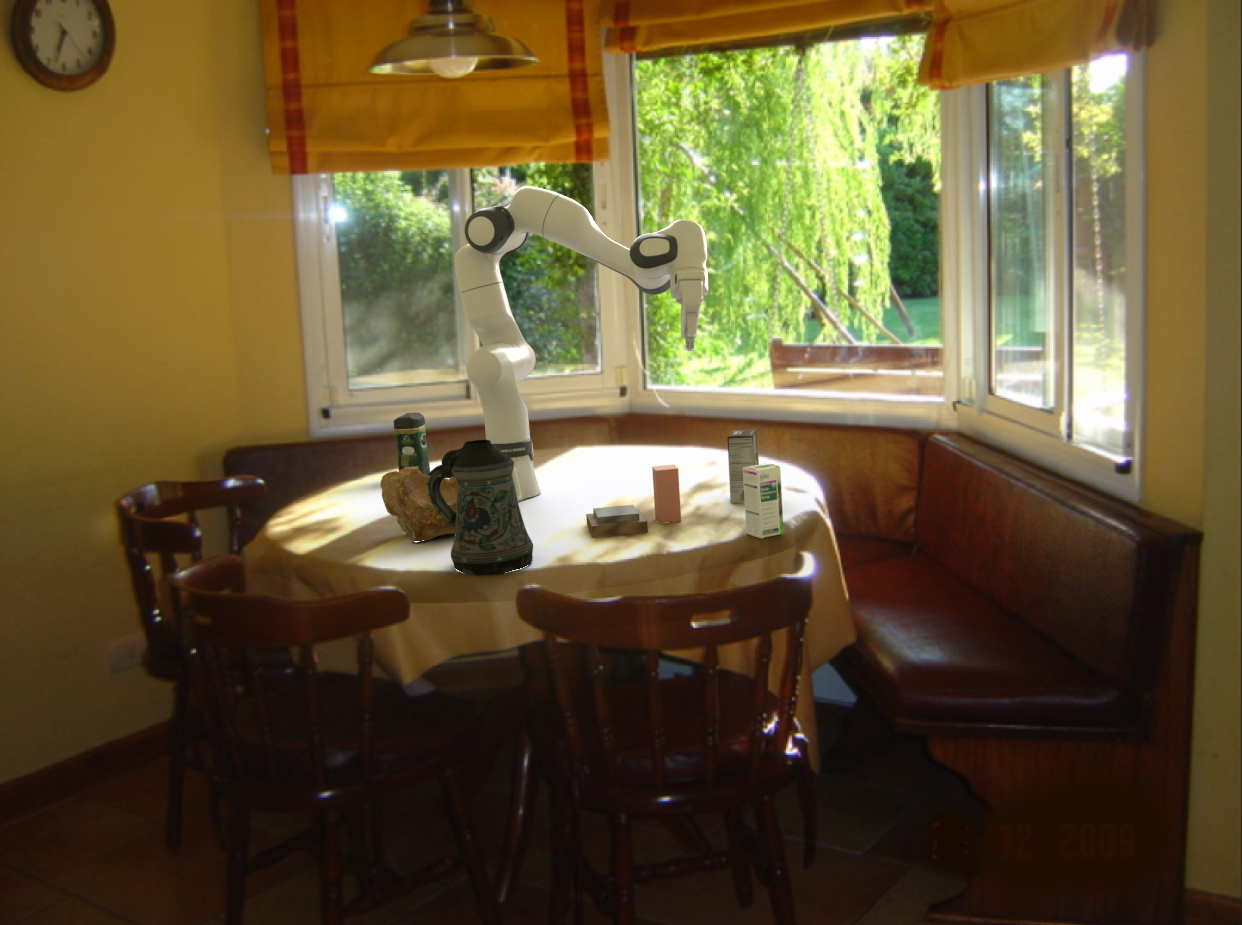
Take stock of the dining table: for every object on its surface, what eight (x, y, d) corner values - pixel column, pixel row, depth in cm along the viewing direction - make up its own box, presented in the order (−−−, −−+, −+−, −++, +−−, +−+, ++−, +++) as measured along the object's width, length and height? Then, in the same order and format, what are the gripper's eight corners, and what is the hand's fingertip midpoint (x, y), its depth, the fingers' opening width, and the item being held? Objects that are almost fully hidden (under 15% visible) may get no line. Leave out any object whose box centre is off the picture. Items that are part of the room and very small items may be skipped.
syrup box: (761, 539, 244) (758, 469, 242) (745, 533, 249) (742, 465, 247) (784, 534, 247) (781, 465, 244) (767, 529, 252) (764, 462, 249)
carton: (658, 523, 263) (655, 470, 261) (655, 518, 268) (652, 466, 266) (681, 521, 263) (678, 468, 261) (677, 516, 268) (674, 464, 266)
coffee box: (734, 495, 287) (731, 429, 284) (760, 494, 285) (757, 428, 283) (729, 503, 278) (726, 435, 275) (757, 503, 277) (754, 435, 274)
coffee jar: (407, 475, 338) (400, 411, 335) (433, 475, 337) (427, 410, 334) (395, 483, 329) (388, 416, 325) (422, 482, 328) (416, 415, 324)
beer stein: (542, 569, 232) (532, 443, 228) (443, 583, 227) (431, 454, 222) (524, 549, 248) (515, 431, 243) (431, 562, 243) (420, 441, 238)
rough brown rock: (374, 552, 257) (368, 486, 253) (387, 528, 273) (382, 465, 269) (482, 549, 257) (478, 482, 253) (488, 524, 273) (485, 462, 269)
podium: (592, 537, 254) (591, 519, 253) (586, 524, 266) (585, 507, 265) (648, 532, 256) (646, 514, 255) (639, 520, 267) (638, 502, 267)
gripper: (674, 304, 287) (675, 358, 283) (677, 268, 267) (678, 326, 263) (700, 304, 287) (702, 358, 283) (705, 268, 267) (707, 325, 263)
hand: (690, 342), depth 273 cm, fingers open, 8 cm apart
